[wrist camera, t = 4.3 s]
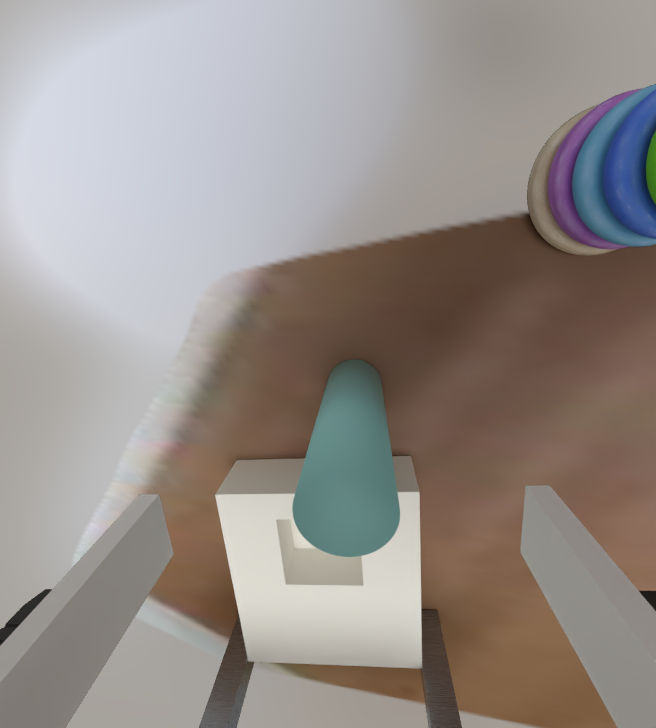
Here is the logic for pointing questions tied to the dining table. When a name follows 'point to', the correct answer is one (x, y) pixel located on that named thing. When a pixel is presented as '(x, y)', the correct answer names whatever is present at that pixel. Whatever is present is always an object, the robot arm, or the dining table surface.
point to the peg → (349, 468)
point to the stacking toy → (599, 178)
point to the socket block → (319, 576)
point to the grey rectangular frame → (237, 669)
